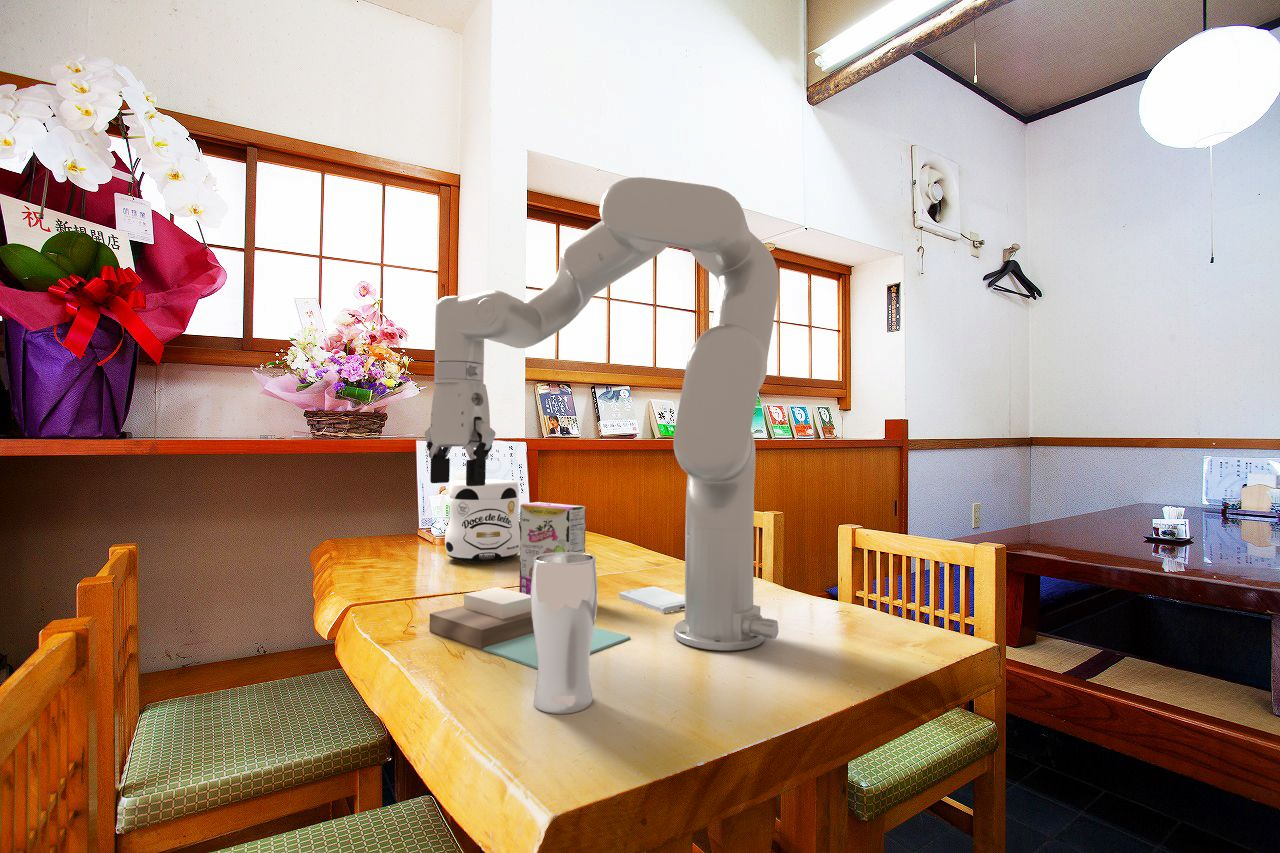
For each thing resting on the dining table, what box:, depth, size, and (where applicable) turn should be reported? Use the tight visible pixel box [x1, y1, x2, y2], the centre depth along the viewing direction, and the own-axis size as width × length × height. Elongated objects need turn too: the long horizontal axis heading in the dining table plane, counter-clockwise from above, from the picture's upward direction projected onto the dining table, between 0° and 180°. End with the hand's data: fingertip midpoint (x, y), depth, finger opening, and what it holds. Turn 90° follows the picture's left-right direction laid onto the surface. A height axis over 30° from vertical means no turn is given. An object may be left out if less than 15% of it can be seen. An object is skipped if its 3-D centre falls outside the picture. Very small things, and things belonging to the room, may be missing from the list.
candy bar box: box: [518, 501, 587, 595], centre depth 106 cm, size 11×5×16 cm, turn 58°
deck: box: [429, 605, 533, 650], centre depth 90 cm, size 12×16×2 cm
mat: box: [482, 626, 631, 670], centre depth 82 cm, size 12×16×1 cm
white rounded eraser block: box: [463, 586, 531, 619], centre depth 91 cm, size 9×6×2 cm, turn 51°
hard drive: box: [618, 585, 685, 614], centre depth 105 cm, size 2×8×12 cm
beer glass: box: [531, 552, 599, 715], centre depth 64 cm, size 7×7×15 cm
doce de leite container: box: [444, 479, 520, 563], centre depth 142 cm, size 17×17×18 cm
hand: (457, 484), depth 97 cm, fingers open, 9 cm apart
